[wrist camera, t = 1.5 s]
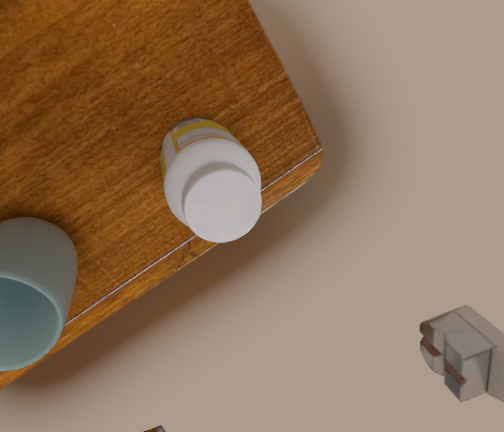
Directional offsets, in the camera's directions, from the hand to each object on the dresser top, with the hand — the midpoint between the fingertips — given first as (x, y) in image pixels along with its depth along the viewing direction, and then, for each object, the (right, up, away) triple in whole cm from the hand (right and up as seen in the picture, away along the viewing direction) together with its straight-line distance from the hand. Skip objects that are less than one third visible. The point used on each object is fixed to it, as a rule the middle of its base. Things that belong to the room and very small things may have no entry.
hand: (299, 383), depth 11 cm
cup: (-20, +3, +21) cm, 29 cm away
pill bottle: (-6, +10, +21) cm, 24 cm away
